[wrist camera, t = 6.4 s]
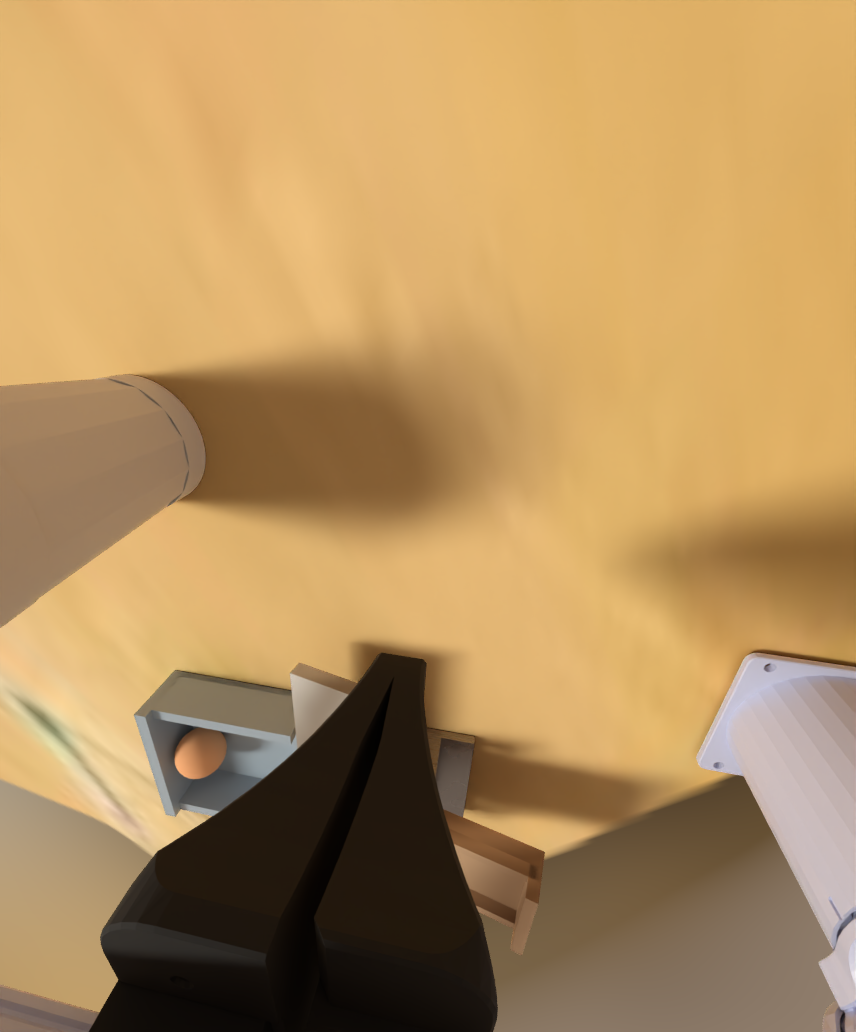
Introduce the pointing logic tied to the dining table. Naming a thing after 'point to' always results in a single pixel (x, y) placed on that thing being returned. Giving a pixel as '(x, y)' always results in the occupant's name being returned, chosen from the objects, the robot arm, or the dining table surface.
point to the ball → (200, 753)
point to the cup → (84, 474)
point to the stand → (451, 766)
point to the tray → (223, 707)
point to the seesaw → (481, 851)
